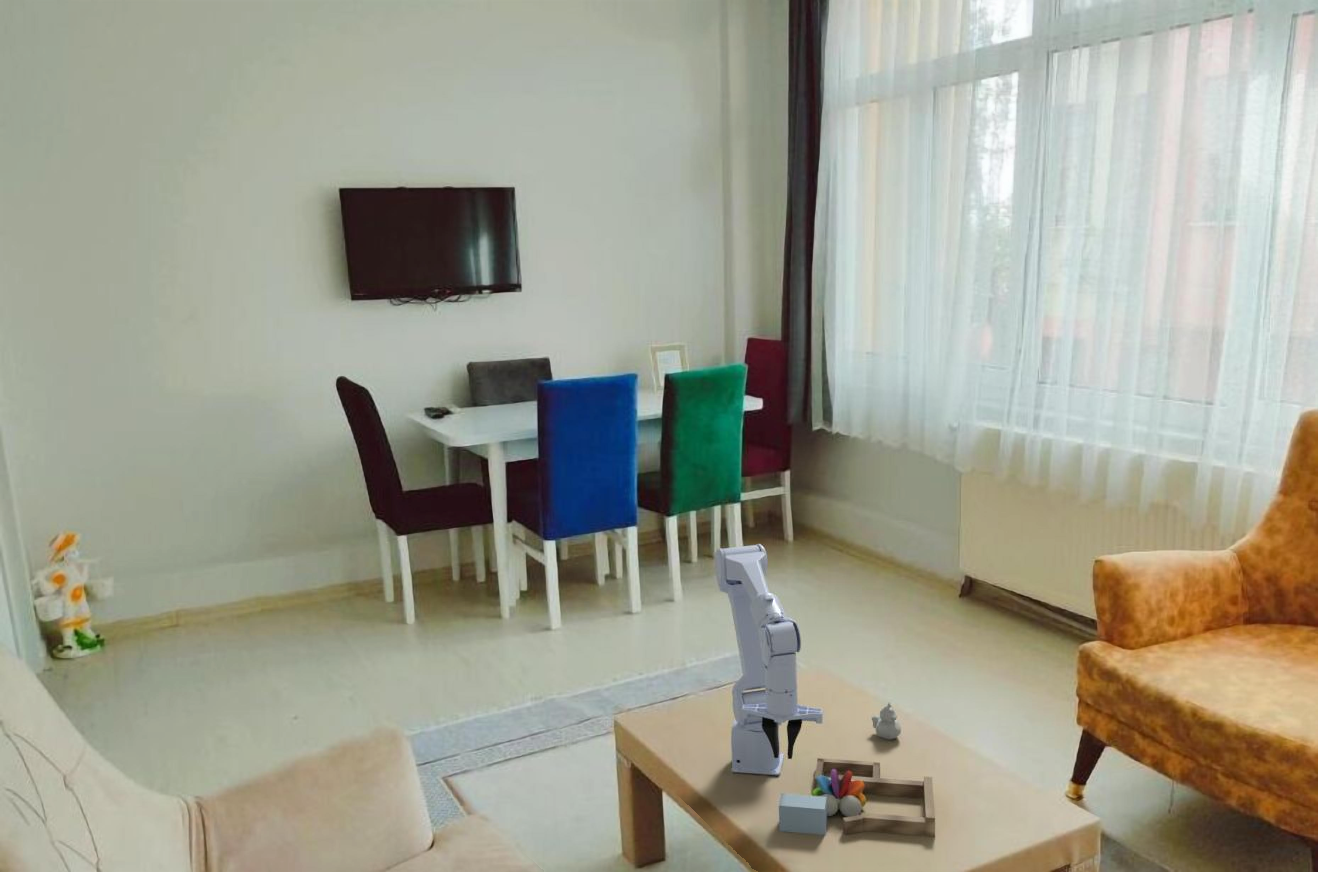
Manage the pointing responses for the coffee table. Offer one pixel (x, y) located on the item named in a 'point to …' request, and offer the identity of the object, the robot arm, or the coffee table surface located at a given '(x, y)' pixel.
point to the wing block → (803, 814)
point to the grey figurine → (886, 723)
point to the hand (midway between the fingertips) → (783, 755)
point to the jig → (884, 788)
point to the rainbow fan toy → (841, 793)
